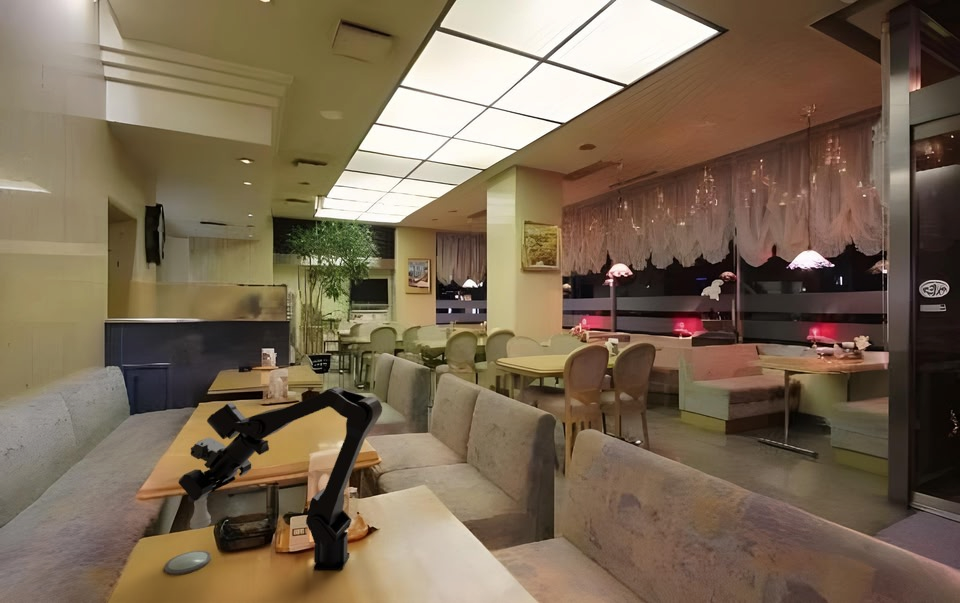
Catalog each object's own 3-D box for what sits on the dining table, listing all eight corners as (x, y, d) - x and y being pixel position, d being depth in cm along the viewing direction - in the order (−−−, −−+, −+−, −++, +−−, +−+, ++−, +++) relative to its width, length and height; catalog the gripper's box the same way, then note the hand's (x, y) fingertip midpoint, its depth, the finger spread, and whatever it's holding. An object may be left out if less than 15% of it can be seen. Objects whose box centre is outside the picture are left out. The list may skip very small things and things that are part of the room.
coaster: (218, 553, 110) (218, 550, 110) (196, 574, 101) (196, 571, 101) (180, 553, 110) (181, 550, 110) (154, 574, 101) (154, 571, 101)
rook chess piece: (203, 530, 108) (203, 495, 108) (185, 529, 108) (185, 495, 108) (215, 521, 112) (215, 488, 112) (198, 520, 112) (198, 488, 112)
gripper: (240, 419, 119) (201, 460, 120) (186, 438, 101) (141, 487, 102) (269, 450, 118) (229, 491, 119) (219, 475, 100) (172, 524, 101)
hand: (195, 497), depth 110 cm, fingers closed on rook chess piece, 3 cm apart
